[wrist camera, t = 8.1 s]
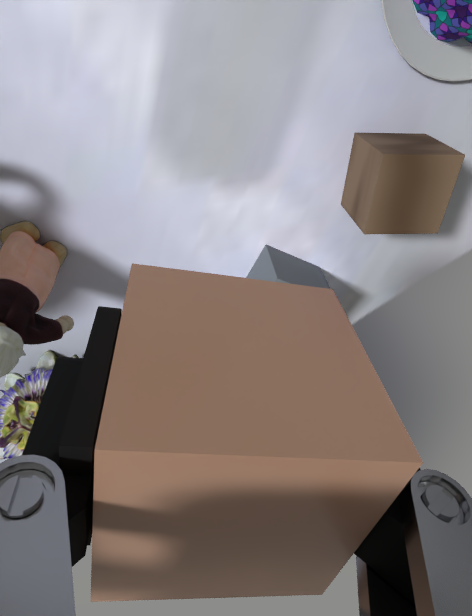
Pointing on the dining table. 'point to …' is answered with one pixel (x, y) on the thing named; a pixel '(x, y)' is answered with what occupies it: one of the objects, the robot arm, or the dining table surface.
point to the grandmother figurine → (27, 292)
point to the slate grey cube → (286, 269)
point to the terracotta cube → (238, 441)
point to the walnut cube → (399, 182)
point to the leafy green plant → (22, 405)
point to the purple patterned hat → (424, 48)
